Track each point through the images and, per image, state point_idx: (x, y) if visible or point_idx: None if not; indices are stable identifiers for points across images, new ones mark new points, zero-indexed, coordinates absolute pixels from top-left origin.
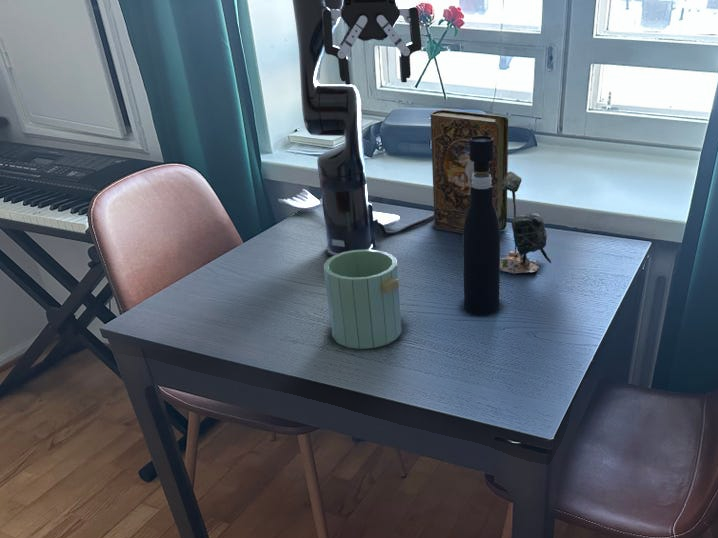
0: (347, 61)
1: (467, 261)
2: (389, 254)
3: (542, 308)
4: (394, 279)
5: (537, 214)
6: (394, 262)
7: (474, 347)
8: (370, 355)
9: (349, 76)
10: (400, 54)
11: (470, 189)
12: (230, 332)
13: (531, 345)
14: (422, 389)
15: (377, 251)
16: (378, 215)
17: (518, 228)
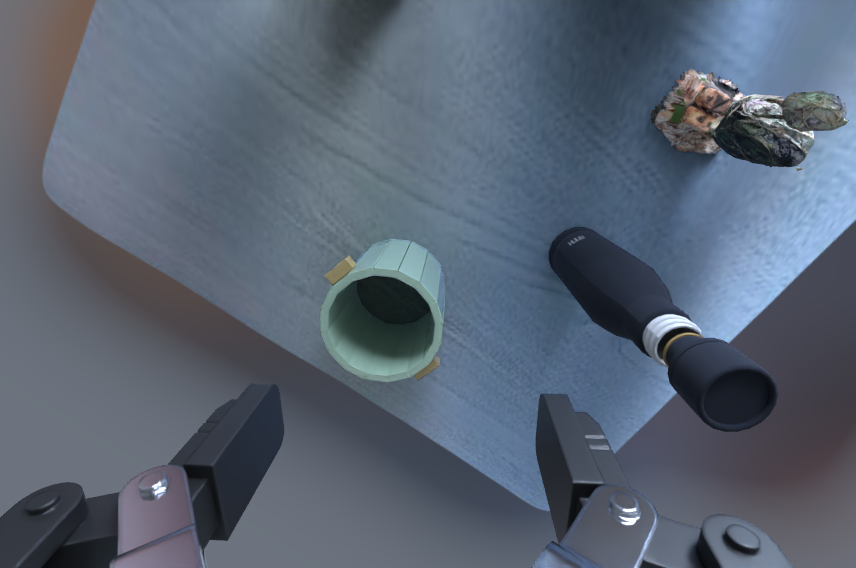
0: (229, 530)
1: (572, 294)
2: (433, 302)
3: (666, 278)
4: (433, 363)
5: (810, 139)
6: (438, 335)
7: (531, 357)
8: None
9: (267, 467)
10: (582, 485)
11: (635, 332)
12: (210, 245)
13: (605, 369)
14: (449, 423)
15: (413, 283)
16: None
17: (743, 136)
